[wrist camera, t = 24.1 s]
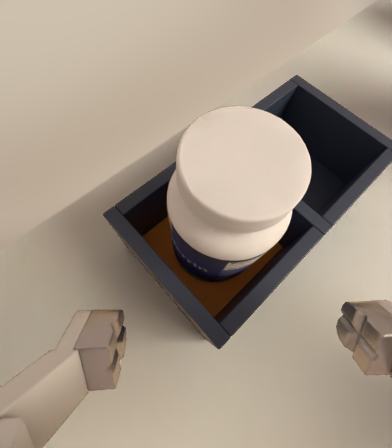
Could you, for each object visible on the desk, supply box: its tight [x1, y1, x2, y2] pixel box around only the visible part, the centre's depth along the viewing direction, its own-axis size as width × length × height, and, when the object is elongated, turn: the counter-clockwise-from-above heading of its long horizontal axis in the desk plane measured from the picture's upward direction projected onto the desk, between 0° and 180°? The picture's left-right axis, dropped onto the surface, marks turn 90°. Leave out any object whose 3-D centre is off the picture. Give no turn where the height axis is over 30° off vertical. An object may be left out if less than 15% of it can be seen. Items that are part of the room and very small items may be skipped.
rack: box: [103, 75, 392, 349], centre depth 17 cm, size 17×9×6 cm, turn 133°
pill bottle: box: [167, 106, 311, 282], centre depth 13 cm, size 6×6×10 cm
